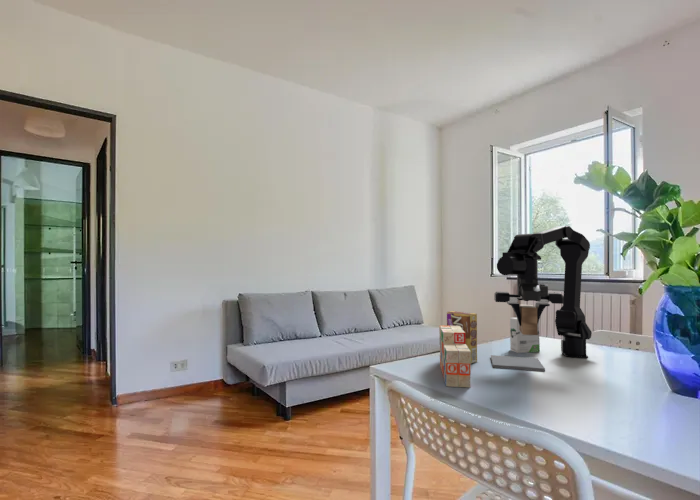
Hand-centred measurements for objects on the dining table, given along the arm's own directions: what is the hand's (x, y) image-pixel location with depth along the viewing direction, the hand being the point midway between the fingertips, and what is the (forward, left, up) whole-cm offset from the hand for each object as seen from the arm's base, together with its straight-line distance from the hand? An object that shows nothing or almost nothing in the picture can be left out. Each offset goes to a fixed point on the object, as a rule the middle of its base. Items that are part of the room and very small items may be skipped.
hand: (528, 325), depth 116 cm
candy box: (+20, 0, -12) cm, 23 cm away
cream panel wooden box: (0, 0, -2) cm, 2 cm away
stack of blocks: (+21, +16, -12) cm, 30 cm away
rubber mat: (+4, 0, -12) cm, 12 cm away
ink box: (-1, -19, -12) cm, 23 cm away
